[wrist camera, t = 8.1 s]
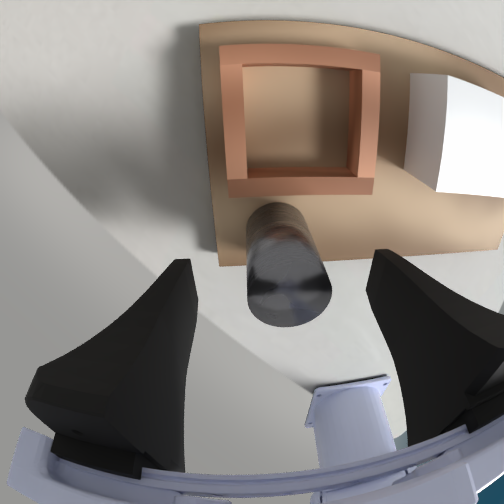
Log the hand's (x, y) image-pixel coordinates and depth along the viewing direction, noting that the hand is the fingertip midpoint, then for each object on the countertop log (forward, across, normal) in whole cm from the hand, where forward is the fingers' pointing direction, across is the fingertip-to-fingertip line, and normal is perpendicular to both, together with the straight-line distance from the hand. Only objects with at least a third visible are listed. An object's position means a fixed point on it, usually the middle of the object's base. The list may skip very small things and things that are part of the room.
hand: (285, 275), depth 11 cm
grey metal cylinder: (+4, 0, 0) cm, 4 cm away
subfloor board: (+5, -7, -4) cm, 9 cm away
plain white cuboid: (+4, -10, -6) cm, 12 cm away
